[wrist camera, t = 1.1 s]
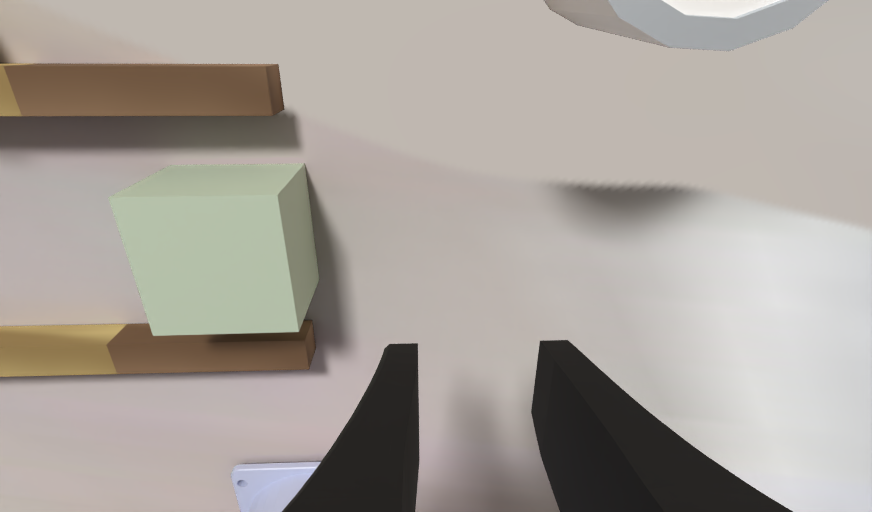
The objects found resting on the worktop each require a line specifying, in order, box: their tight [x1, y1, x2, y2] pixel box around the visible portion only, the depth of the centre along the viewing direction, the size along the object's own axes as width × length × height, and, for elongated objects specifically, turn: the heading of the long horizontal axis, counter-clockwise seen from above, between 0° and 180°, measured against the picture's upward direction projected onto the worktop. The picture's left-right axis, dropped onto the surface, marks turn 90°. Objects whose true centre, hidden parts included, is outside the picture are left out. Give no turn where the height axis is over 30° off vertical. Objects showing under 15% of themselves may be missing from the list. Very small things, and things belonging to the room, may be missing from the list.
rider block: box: [109, 164, 319, 336], centre depth 17 cm, size 5×5×4 cm
